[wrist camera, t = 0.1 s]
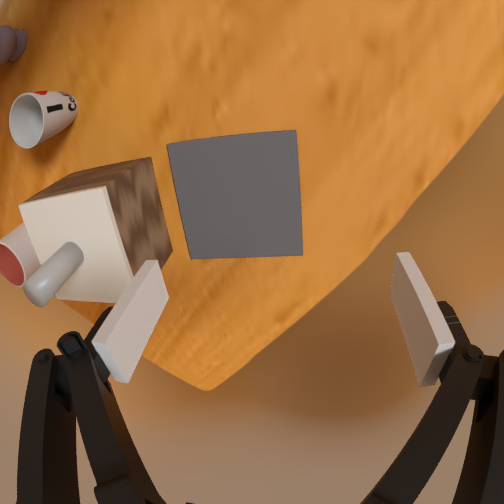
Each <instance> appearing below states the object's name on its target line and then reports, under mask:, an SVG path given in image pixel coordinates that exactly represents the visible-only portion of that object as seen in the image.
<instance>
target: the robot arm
mask: <svg viewBox="0 0 504 504" xmlns="http://www.w3.org/2000/svg"><path fill="white" fill-rule="evenodd" d="M389 294H390V297H391V300H392V302H393V305H394V308H395V311H396V314H397V317H398V319H399V322H400V325H401V328H402V331H403V334H404V337H405V340H406V343H407V347H408V350H409V353H410V356H411V360H412V363H413V366H414V370H415V373H416V377H417V380H418V384H419V387H425V386H431V385H435V383H436V381H437V379H438V377H439V378H440V381H441V386H440V387H439V389H438V391H437V392H436V394H435V396H434V398H433V400H432V402H431V404H430V406H429V407H428V409H427V411H426V412H425V414H424V416H423V418H422V419H421V421H420V422H419V424H418V426H417V427H416V429H415V431H414V432H413V434H412V435H411V437H410V438H409V440H408V441H407V443H406V445H405V446H404V447H403V449H402V450H401V452H400V453H399V455H398V456H397V458H396V459H395V460H394V462H393V463H392V464H391V466H390V467H389V469H388V470H387V471H386V473H385V474H384V475H383V477H382V478H381V479H380V481H379V482H378V483H377V484H376V486H375V487H374V488H373V489H372V490H371V492H370V493H369V494H368V495H367V496H366V498H365V499H364V500H363V501H362V502H361V503H360V504H413V503H414V501H415V500H416V498H417V497H418V495H419V494H420V492H421V491H422V489H423V488H424V486H425V485H426V483H427V482H428V480H429V478H430V477H431V475H432V473H433V472H434V470H435V468H436V467H437V465H438V463H439V462H440V460H441V458H442V456H443V454H444V453H445V451H446V449H447V447H448V445H449V443H450V441H451V439H452V437H453V436H454V434H455V431H456V429H457V427H458V425H459V423H460V421H461V419H462V417H463V414H464V412H465V410H466V408H467V405H468V403H469V401H470V399H472V400H475V407H474V414H473V420H472V426H471V432H470V437H469V442H468V447H467V451H466V456H465V460H464V464H463V468H462V472H461V476H460V479H459V483H458V486H457V489H456V493H455V496H454V499H453V502H452V504H504V350H503V351H502V352H501V353H500V355H499V357H496V356H488V355H484V354H483V352H482V351H481V349H480V348H478V347H477V346H475V345H471V344H470V341H469V339H468V337H467V335H466V333H465V331H464V329H463V327H462V325H461V323H460V321H459V319H458V318H457V317H456V313H455V312H454V310H453V308H452V307H451V306H450V305H449V304H448V303H447V302H446V301H440V302H436V301H435V299H434V297H433V295H432V293H431V291H430V289H429V287H428V285H427V283H426V281H425V280H424V278H423V276H422V274H421V272H420V270H419V269H418V267H417V265H416V263H415V262H414V260H413V258H412V256H411V255H410V253H409V252H405V253H404V252H403V253H396V258H395V265H394V272H393V277H392V283H391V288H390V293H389ZM168 299H169V296H168V293H167V289H166V286H165V283H164V280H163V276H162V273H161V270H160V266H159V263H158V260H146V261H145V262H144V264H143V265H142V266H141V268H140V269H139V271H138V272H137V273H136V275H135V276H134V278H133V279H132V281H131V282H130V284H129V285H128V286H127V288H126V289H125V291H124V292H123V294H122V295H121V297H120V298H119V300H118V301H117V303H116V304H115V306H114V307H109V308H107V309H106V310H105V311H104V312H102V314H101V315H100V317H99V318H98V321H96V323H95V324H94V326H93V328H92V329H91V331H90V332H89V333H88V335H87V337H86V338H85V340H84V341H83V339H82V337H81V336H80V334H79V333H78V332H76V331H71V332H68V333H66V334H64V335H63V336H62V337H60V339H59V341H58V342H57V347H58V349H59V350H60V352H61V353H62V355H58V356H57V355H56V356H55V355H54V353H53V352H52V350H50V349H43V350H40V351H39V352H38V353H37V354H36V355H35V356H34V358H33V361H32V365H31V370H30V375H29V380H28V385H27V390H26V396H25V402H24V408H23V415H22V423H21V431H20V441H19V453H18V473H17V502H16V504H80V497H79V487H78V474H77V455H76V417H77V420H78V425H79V428H80V432H81V436H82V439H83V443H84V446H85V449H86V453H87V456H88V459H89V462H90V465H91V468H92V471H93V474H94V477H95V479H96V483H97V486H96V487H94V493H95V496H96V499H97V502H98V504H166V502H165V501H164V500H163V499H162V498H161V496H160V495H159V493H158V492H157V490H156V488H155V486H154V484H153V483H152V480H151V479H150V477H149V475H148V473H147V471H146V469H145V467H144V465H143V462H142V460H141V458H140V456H139V454H138V452H137V450H136V447H135V445H134V443H133V441H132V439H131V436H130V434H129V432H128V429H127V427H126V424H125V422H124V419H123V417H122V414H121V412H120V410H119V406H118V404H117V401H116V398H115V396H114V393H113V390H112V387H111V384H110V383H109V381H108V377H109V375H110V374H111V375H112V377H113V378H114V380H115V381H118V382H124V383H129V381H130V378H131V376H132V374H133V372H134V370H135V367H136V365H137V363H138V361H139V359H140V357H141V355H142V353H143V350H144V348H145V346H146V344H147V342H148V340H149V338H150V336H151V334H152V332H153V330H154V328H155V326H156V324H157V322H158V319H159V317H160V315H161V313H162V311H163V309H164V307H165V305H166V303H167V301H168ZM186 504H192V503H186Z"/></svg>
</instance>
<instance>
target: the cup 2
mask: <svg viewBox="0 0 504 504" xmlns="http://www.w3.org/2000/svg"><path fill="white" fill-rule="evenodd" d="M77 113H78V103H77V101H76V99H75V98H74V97H73V96H72V95H69V94H66V93H63V92H57V91H38V92H30V93H24V94H21V95H20V96H19V97H17V99H16V100H15V101H14V103H13V105H12V107H11V110H10V115H9V127H10V132H11V135H12V137H13V139H14V141H15V142H16V143H17V144H18V145H19V146H20V147H22V148H31V147H33V146H35V145H37V144H39V143H41V142H43V141H45V140H47V139H49V138H51V137H53V136H54V135H56V134H57V133H59V132H60V131H62V130H64V129H65V128H66V127H67V126H68V125H69V124H70V123H72V122H73V121H74V120H75V118H76V116H77Z"/></svg>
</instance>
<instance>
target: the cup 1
mask: <svg viewBox="0 0 504 504" xmlns="http://www.w3.org/2000/svg"><path fill="white" fill-rule="evenodd" d="M40 266H41V264H40V262H39V259H38V257H37V255H36V252H35V250H34V247H33V245H32V242H31V240H30V237H29V235H28V232H27V229H26V227H25V224H24V222H23V223H21V224H20V225H19V226H17V227H16V228H15V229H13V230H12V231H11V232H10V233H8V234H7V235H6V236H4V237H3V238H2V239H1V240H0V273H1V274H2V276H3V277H4V278H5V279H6V280H7V281H8V282H9V283H11V284H12V285H14V286H17V287H21V286H23V284H24V282H25V281H26V280H27V279H28V278H29V277H30V276H31V275H32V274H33V273H34V272H35V271H36V270H37V269H38V268H39V267H40Z"/></svg>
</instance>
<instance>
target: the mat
mask: <svg viewBox="0 0 504 504" xmlns="http://www.w3.org/2000/svg"><path fill="white" fill-rule="evenodd" d="M167 148H168V153H169V158H170V164H171V169H172V174H173V179H174V184H175V189H176V194H177V199H178V204H179V208H180V213H181V218H182V222H183V227H184V231H185V236H186V240H187V244H188V249H189V253H190V257H191V259H213V258H243V257H272V256H300V255H303V242H302V217H301V196H300V178H299V162H298V148H297V135H296V130H290V131H274V132H261V133H249V134H239V135H229V136H220V137H212V138H204V139H197V140H190V141H183V142H176V143H170V144H167Z"/></svg>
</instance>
